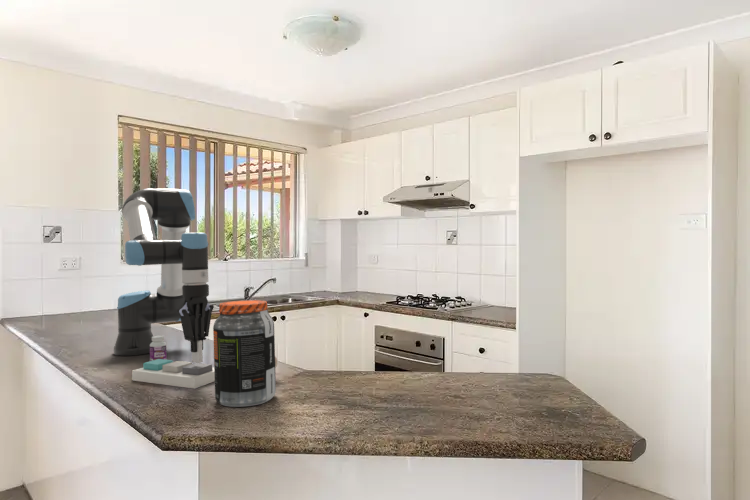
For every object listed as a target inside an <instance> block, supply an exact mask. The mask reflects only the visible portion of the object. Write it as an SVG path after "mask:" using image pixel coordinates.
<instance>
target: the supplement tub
mask: <svg viewBox="0 0 750 500" xmlns="http://www.w3.org/2000/svg"><path fill="white" fill-rule="evenodd" d="M218 308H219V309H218V311H219V315H218V317H217V318H216V319H215V320H214V323H213V327H212V330H213V331H212V333H213V367H214V373H215V381H214V396H215V400H216V401H217V403H218V404H219V405H221V406H225V407H233V408H237V407H238V408H239V407H241V408H242V407H251V406H253V407H254V406H258V405H262V404H264V403H267V402H269V401H271V399H273V397H274V396H275V395H276V389H277V387H276V385H277V384H276V383H277V382H276V368H275V357H276V352H275V351H276V348H275V347H276V346H275V345H276V343H275V337H276V336H275V321H274V319H273V317H272V316H271V315H270V313H269V307H268V302H267V301H266V300H258V299H254V300H253V299H251V300H246V299H245V300H234V301H233V300H232V301H225V302H220V303H219V307H218Z"/></svg>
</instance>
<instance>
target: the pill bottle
mask: <svg viewBox="0 0 750 500" xmlns="http://www.w3.org/2000/svg"><path fill="white" fill-rule="evenodd" d="M164 340H165V335H153V337H152V341H153V342H152V343H151V344H150V353H149V361H153V360H156V359H165V360H168V359H167V357H168V355H167V342H166V341H164Z"/></svg>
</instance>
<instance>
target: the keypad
mask: <svg viewBox="0 0 750 500" xmlns="http://www.w3.org/2000/svg"><path fill="white" fill-rule="evenodd" d="M131 380H132V381H134V382H135V381H136V382H142V383H143V382H144V383H151V384H157V385H166V386H173V387H179V388H181V387H182V388H187V389H188V388H189V389H197V388H201V387H203V386H205V385H208V384H211V383H215V373H214V366H212V371H210V372H207V373H204V374H201V375H190V374H183V371H182V372H179V373H173V372H164V371H163V369H162V370H159V371H155V370H147V369H144V367H140V368H136V369H133V370H131Z"/></svg>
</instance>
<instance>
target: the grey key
mask: <svg viewBox="0 0 750 500" xmlns="http://www.w3.org/2000/svg"><path fill="white" fill-rule="evenodd" d="M192 364H193V362H192V361H182V360H176V361H173V362H172V363H168V364H165V365H163V371H164V372H173V373H179V372H182V367H185V366H188V365H192Z"/></svg>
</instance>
